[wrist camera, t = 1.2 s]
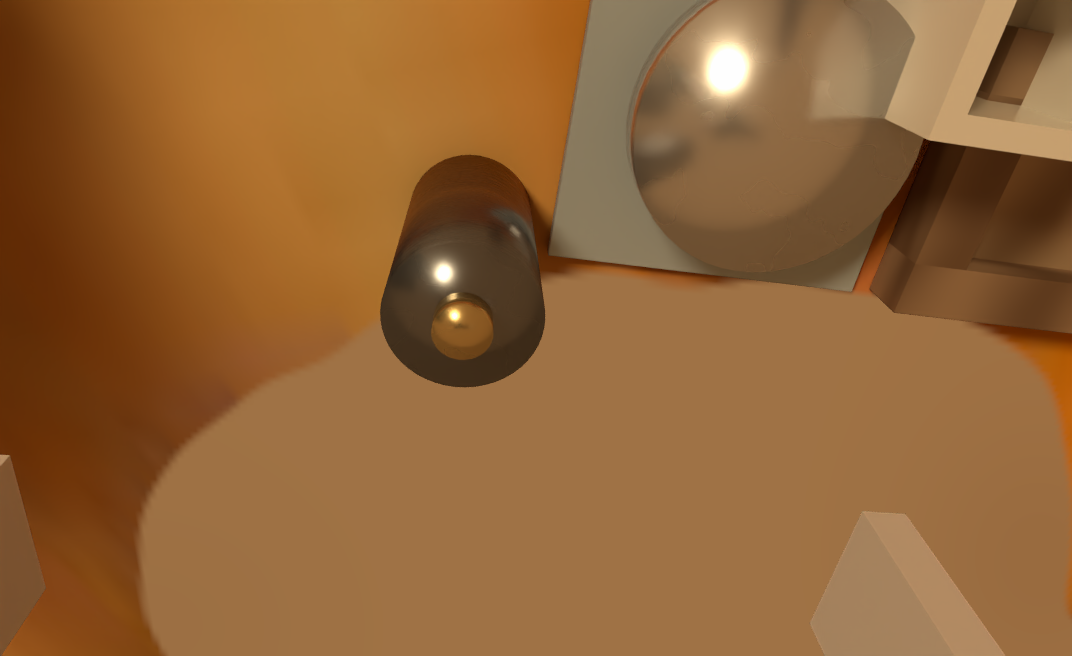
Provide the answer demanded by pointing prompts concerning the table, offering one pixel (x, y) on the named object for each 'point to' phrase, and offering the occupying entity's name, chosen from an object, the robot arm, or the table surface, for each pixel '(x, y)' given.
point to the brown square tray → (987, 221)
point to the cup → (960, 65)
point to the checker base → (603, 170)
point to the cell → (465, 276)
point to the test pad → (771, 128)
